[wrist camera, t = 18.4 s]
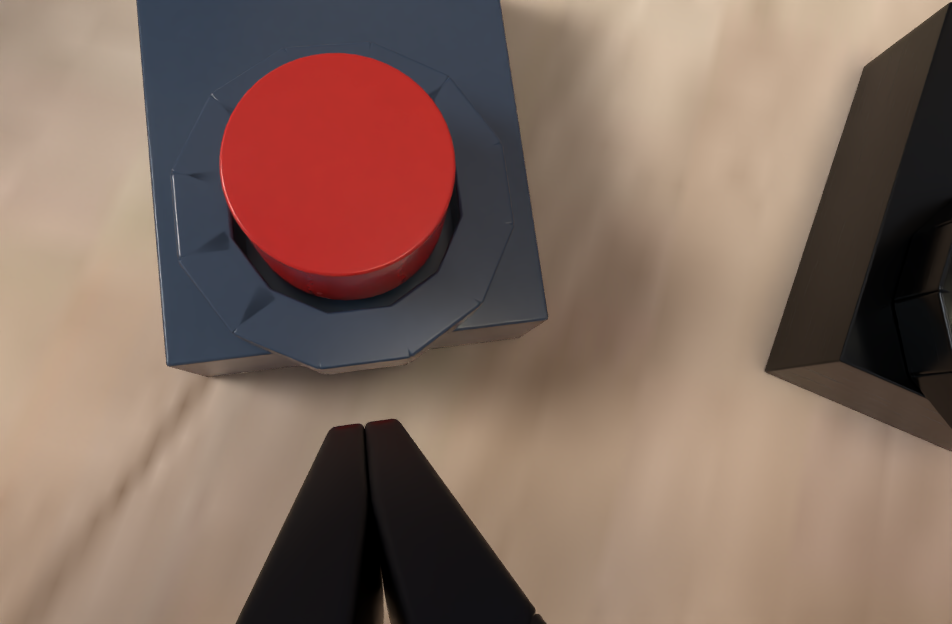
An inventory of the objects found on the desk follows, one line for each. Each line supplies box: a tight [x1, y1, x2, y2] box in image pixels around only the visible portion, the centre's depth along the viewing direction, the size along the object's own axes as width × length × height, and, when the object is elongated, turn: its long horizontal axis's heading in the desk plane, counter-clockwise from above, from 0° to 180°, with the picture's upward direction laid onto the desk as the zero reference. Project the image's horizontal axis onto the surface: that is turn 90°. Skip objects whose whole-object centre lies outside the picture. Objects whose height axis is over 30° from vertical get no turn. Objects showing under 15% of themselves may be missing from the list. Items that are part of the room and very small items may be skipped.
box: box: [136, 0, 548, 377], centre depth 19 cm, size 12×9×6 cm
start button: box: [219, 53, 456, 300], centre depth 15 cm, size 4×4×3 cm
